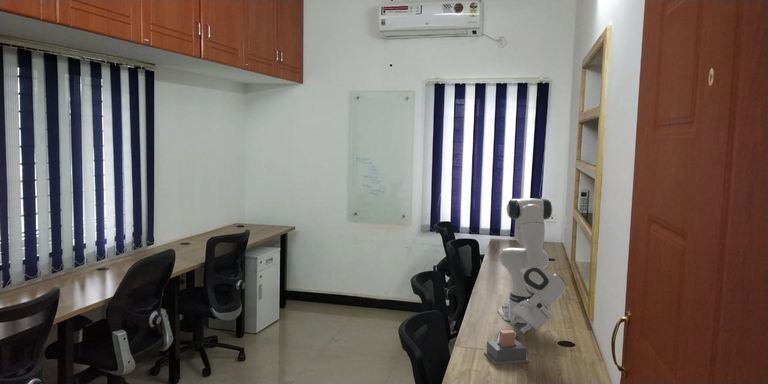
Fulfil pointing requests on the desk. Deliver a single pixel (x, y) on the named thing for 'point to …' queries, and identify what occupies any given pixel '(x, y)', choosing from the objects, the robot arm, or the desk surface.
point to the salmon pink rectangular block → (507, 338)
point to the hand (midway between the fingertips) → (516, 327)
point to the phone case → (504, 330)
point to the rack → (506, 353)
